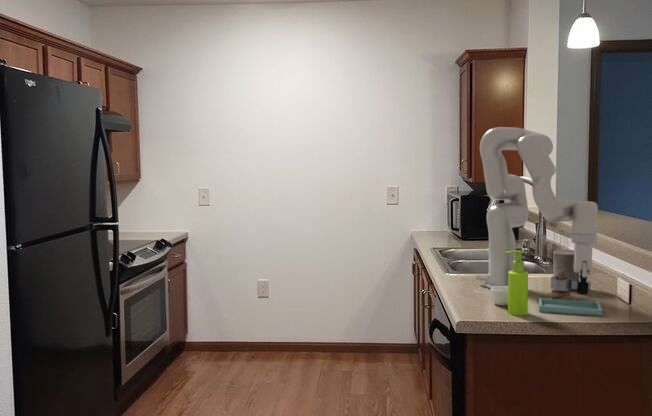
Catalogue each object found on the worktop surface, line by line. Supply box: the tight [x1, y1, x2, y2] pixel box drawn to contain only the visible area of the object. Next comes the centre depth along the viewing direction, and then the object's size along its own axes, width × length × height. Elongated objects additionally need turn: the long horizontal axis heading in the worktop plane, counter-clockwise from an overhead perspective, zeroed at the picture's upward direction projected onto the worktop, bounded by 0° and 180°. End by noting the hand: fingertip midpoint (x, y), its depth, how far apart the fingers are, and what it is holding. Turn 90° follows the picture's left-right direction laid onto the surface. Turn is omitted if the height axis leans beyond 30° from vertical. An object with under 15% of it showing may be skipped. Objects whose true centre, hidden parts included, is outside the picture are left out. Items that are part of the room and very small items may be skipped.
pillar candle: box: [552, 248, 578, 292], centre depth 210 cm, size 10×10×15 cm
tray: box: [538, 297, 603, 317], centre depth 182 cm, size 18×10×2 cm, turn 70°
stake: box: [547, 269, 574, 300], centre depth 191 cm, size 8×8×11 cm
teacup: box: [490, 286, 508, 307], centre depth 191 cm, size 10×8×5 cm
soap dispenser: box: [505, 249, 529, 317], centre depth 178 cm, size 6×7×20 cm
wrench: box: [550, 276, 592, 291], centre depth 190 cm, size 12×6×4 cm, turn 70°
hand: (582, 292), depth 189 cm, fingers closed on wrench, 2 cm apart
